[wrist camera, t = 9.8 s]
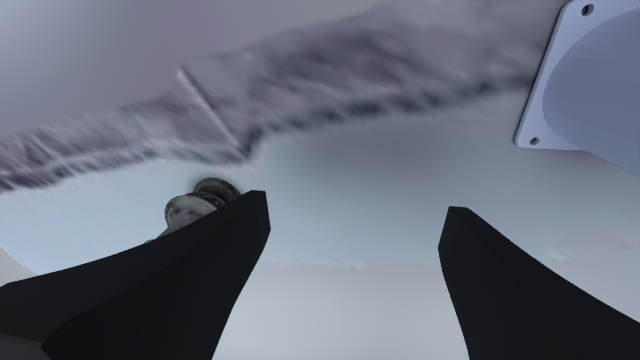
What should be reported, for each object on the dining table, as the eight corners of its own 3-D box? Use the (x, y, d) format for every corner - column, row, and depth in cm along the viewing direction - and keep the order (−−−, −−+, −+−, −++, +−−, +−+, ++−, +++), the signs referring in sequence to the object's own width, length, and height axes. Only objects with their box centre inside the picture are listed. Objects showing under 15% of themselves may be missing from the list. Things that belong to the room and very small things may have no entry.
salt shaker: (182, 202, 25) (49, 315, 15) (205, 162, 22) (60, 267, 12) (231, 236, 26) (139, 363, 16) (259, 202, 23) (169, 329, 13)
